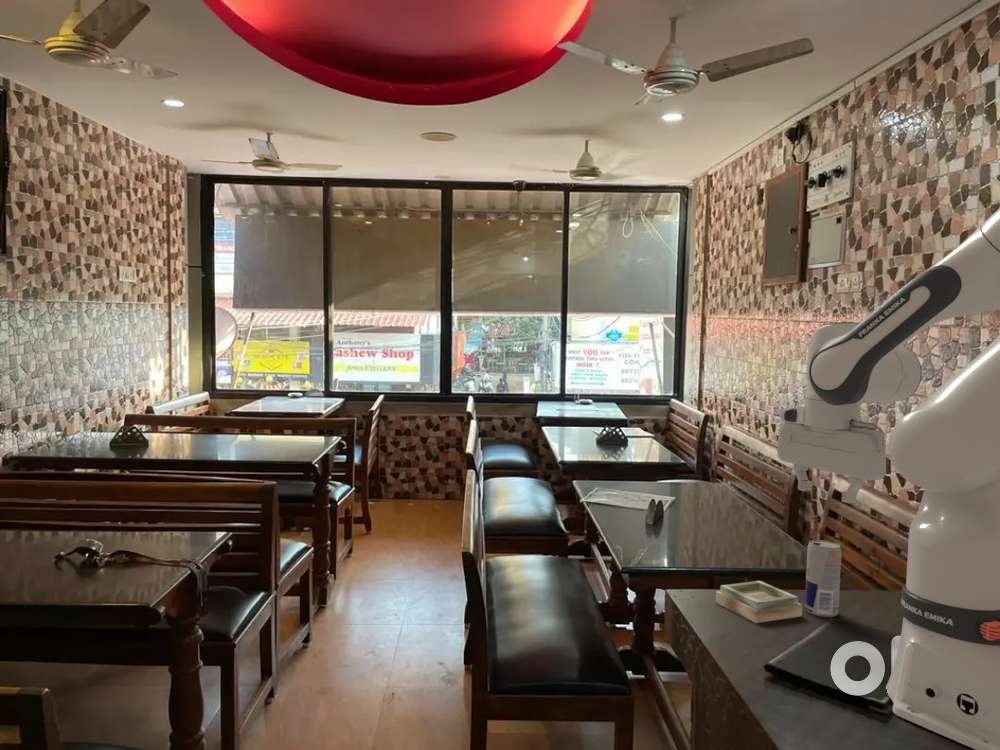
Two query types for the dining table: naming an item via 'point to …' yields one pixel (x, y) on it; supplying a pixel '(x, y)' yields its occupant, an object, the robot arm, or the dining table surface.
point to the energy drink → (823, 578)
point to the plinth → (758, 601)
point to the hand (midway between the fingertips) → (825, 496)
